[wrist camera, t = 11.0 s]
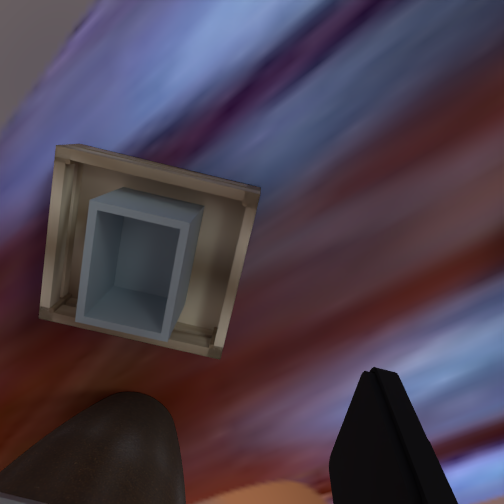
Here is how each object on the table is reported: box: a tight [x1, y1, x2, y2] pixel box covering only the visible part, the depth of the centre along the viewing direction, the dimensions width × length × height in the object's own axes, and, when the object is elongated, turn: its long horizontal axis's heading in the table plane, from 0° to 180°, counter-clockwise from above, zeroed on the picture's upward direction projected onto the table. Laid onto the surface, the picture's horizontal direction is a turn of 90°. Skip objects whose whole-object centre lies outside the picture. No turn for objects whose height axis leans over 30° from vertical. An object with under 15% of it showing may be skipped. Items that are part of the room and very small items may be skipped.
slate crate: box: [75, 187, 204, 342], centre depth 29 cm, size 8×6×6 cm
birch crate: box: [39, 144, 261, 359], centre depth 30 cm, size 12×13×4 cm
